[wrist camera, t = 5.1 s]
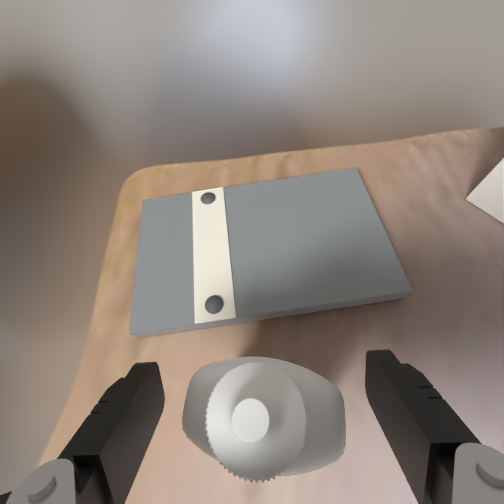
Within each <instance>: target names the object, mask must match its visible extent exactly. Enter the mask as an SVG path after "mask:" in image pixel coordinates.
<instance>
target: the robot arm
mask: <svg viewBox="0 0 504 504" xmlns="http://www.w3.org/2000/svg"><path fill="white" fill-rule="evenodd" d="M365 389H366V394H367V398H368V401H369V404H370V406H371V408H372V410H373V412H374V414H375V416H376V418H377V420H378V422H379V424H380V426H381V428H382V430H383V432H384V434H385V436H386V438H387V440H388V442H389V444H390V446H391V448H392V450H393V453H394V455H395V457H396V459H397V461H398V463H399V465H400V467H401V469H402V471H403V473H404V475H405V477H406V479H407V481H408V483H409V485H410V487H411V489H412V491H413V493H414V495H415V497H416V499H417V501H418V503H419V504H504V454H503V453H501V452H499V451H498V450H495V449H493V448H491V447H488V446H486V445H482V444H481V442H480V441H479V440H478V439H477V438H476V437H475V435H474V434H473V433H472V432H471V431H470V429H469V428H468V427H467V426H466V425H465V423H464V422H463V421H462V420H461V419H460V418H459V416H458V415H457V414H456V413H455V412H454V410H453V409H452V408H451V407H450V406H449V404H448V403H447V402H446V401H445V400H444V399H442V396H441V395H440V394H439V393H438V391H437V390H436V389H435V388H433V385H432V384H431V383H430V382H429V381H428V379H427V378H426V377H425V376H424V375H423V373H421V372H420V371H418V370H417V369H415V368H414V367H412V366H411V365H409V364H408V363H407V364H401V363H400V362H399V361H398V359H397V358H396V357H395V355H394V354H393V353H392V352H391V351H390V350H370V351H367V353H366V373H365ZM164 401H165V396H164V390H163V385H162V380H161V376H160V371H159V367H158V364H157V363H156V362H145V363H135V364H134V365H133V367H132V368H131V370H130V371H129V373H128V374H127V376H126V377H125V378H120V379H119V380H118V381H116V382H115V383H114V384H113V385H112V386H110V387H109V388H108V389H107V390H106V392H105V393H104V394H103V396H102V397H101V399H100V400H99V401H98V404H96V405H95V407H94V408H93V410H92V411H91V414H90V415H88V417H87V418H86V419H85V421H84V422H83V423H82V425H81V426H80V428H79V429H78V430H77V432H76V433H75V435H74V436H73V437H72V439H71V440H70V441H69V443H68V444H67V446H66V447H65V448H64V450H63V451H62V453H61V454H60V455H59V457H58V458H57V459H55V460H52V461H49V462H47V463H45V464H43V465H41V466H39V467H38V468H36V469H35V470H33V471H32V472H31V473H29V474H28V475H27V476H26V477H25V478H24V479H23V480H22V481H21V482H20V483H19V484H18V485H17V486H16V488H15V489H14V490H13V491H11V492H8V493H6V494H3V495H0V504H125V501H126V499H127V496H128V494H129V491H130V489H131V487H132V484H133V482H134V479H135V477H136V475H137V472H138V470H139V467H140V465H141V463H142V460H143V458H144V455H145V453H146V451H147V448H148V446H149V443H150V441H151V438H152V436H153V434H154V431H155V429H156V426H157V424H158V422H159V419H160V417H161V414H162V412H163V408H164Z"/></svg>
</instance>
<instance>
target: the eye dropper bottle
mask: <svg viewBox="0 0 504 504" xmlns="http://www.w3.org/2000/svg"><path fill="white" fill-rule="evenodd" d="M182 425H183V430H184V432H185V434H186V436H187V437H188V438H189V439H190V440H191V441H192V442H193V443H194V444H195V445H196V446H197V447H198V448H200V449H201V450H202V451H204V452H205V453H206V454H208V455H209V456H211V457H212V458H214V459H216V460H217V461H219V462H220V464H224V469H227V468H228V471H229V473H231V472H233V475H234V476H236V475H238V477H239V479H241V478H242V477H243V478H244V480H245V481H246V480H247V479H249V480H250V481H251V482H252V481H253V480H255V481H256V482H258V481H259V480H261V481H262V482H264V480H265V479H266V480H268V481H269V480H270V478H273V479H275V477H276V476H290V475H298V474H303V473H307V472H311V471H314V470H317V469H320V468H323V467H325V466H328V465H330V464H332V463H334V462H335V461H337V460H338V459H339V458H340V457H341V456H342V455H343V453H344V449H345V445H346V424H345V408H344V400H343V397H342V394H341V392H340V390H339V389H338V388H337V387H336V386H335V385H334V384H333V383H331V382H330V381H329V380H327V379H326V378H324V377H322V376H320V375H319V374H317V373H315V372H313V371H311V370H309V369H307V368H304V367H302V366H299V365H297V364H294V363H291V362H287V361H284V360H280V359H275V358H268V357H238V358H231V359H226V360H222V361H218V362H215V363H212V364H209V365H207V366H204V367H202V368H200V369H199V370H198V371H196V372H195V373H194V374H193V376H192V378H191V380H190V383H189V387H188V390H187V395H186V399H185V404H184V409H183V416H182Z"/></svg>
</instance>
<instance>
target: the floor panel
mask: <svg viewBox="0 0 504 504" xmlns="http://www.w3.org/2000/svg"><path fill="white" fill-rule="evenodd" d="M412 291H413V289H412V287H411V285H410V283H409V281H408V278H407V276H406V274H405V272H404V270H403V268H402V265H401V263H400V261H399V259H398V257H397V255H396V252H395V250H394V248H393V246H392V244H391V242H390V240H389V237H388V235H387V233H386V231H385V229H384V227H383V224H382V222H381V220H380V218H379V216H378V214H377V211H376V209H375V207H374V205H373V203H372V201H371V199H370V196H369V194H368V192H367V190H366V188H365V186H364V183H363V181H362V179H361V177H360V175H359V173H358V170H357V168H350V169H343V170H337V171H330V172H324V173H317V174H311V175H304V176H298V177H291V178H285V179H278V180H272V181H265V182H259V183H252V184H246V185H239V186H233V187H226V188H223V187H221V188H214V189H208V190H201V191H195V192H192V193H187V194H181V195H174V196H168V197H161V198H155V199H148V200H143V205H142V214H141V224H140V234H139V243H138V253H137V263H136V272H135V282H134V292H133V301H132V311H131V321H130V330H129V334H131V335H134V336H136V337H138V338H146V337H152V336H159V335H166V334H172V333H179V332H186V331H192V330H199V329H206V328H212V327H219V326H226V325H232V324H239V323H246V322H252V321H259V320H265V319H272V318H279V317H285V316H292V315H299V314H305V313H312V312H319V311H325V310H332V309H339V308H345V307H352V306H359V305H365V304H372V303H379V302H385V301H392V300H399V299H404V298H405V297H406V296H407V295H409V294H410V293H411V292H412Z"/></svg>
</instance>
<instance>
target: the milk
mask: <svg viewBox="0 0 504 504" xmlns="http://www.w3.org/2000/svg"><path fill="white" fill-rule="evenodd" d="M466 200H467V201H469V202H470V203H472V204H474V205H475V206H477V207H478V208H480V209H481V210H483V211H484V212H486V213H488V214H489V215H491V216H492V217H494V218H495V219H497V220H498V221H500V222H502V223H503V224H504V158H503V159H502V160H501V161H500V162H499V163H498V164H497V165H496V166H495V167H494V168H493V170H492V171H491V172H490V173H489V174H488V175H487V176H486V177H485V178H484V179H483V180H482V181H481V182H480V183H479V184H478V185H477V187H476V188H475V189H474V190H473V191H472V192H471V193H470V194H469V195H468V196H467V197H466Z"/></svg>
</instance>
